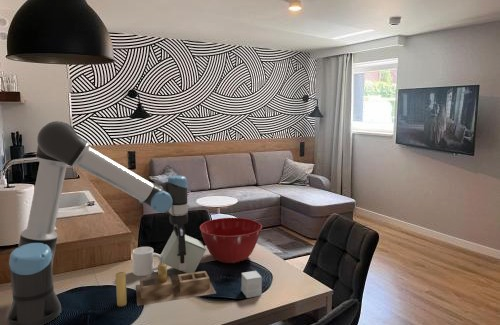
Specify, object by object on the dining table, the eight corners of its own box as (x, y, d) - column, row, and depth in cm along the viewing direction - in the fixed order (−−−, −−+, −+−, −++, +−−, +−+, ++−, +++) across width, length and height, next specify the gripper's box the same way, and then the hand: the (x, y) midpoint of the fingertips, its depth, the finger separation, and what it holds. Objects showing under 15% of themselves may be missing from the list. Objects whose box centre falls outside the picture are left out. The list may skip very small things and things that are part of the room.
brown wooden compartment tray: (137, 308, 128) (136, 278, 126) (135, 287, 143) (134, 260, 141) (216, 295, 137) (216, 267, 135) (207, 277, 152) (206, 251, 150)
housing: (162, 263, 149) (176, 237, 149) (160, 254, 158) (173, 229, 158) (192, 275, 153) (206, 249, 154) (188, 265, 162) (201, 241, 163)
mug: (164, 269, 160) (163, 246, 158) (161, 278, 151) (160, 253, 150) (135, 269, 159) (135, 246, 157) (131, 278, 151) (130, 254, 149)
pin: (117, 309, 127) (115, 276, 126) (117, 305, 130) (115, 272, 129) (126, 308, 128) (125, 275, 127) (126, 303, 131) (125, 271, 130)
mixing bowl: (192, 251, 179) (192, 220, 177) (246, 243, 191) (246, 214, 189) (211, 275, 154) (211, 239, 152) (272, 263, 166) (272, 230, 164)
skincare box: (241, 290, 141) (241, 272, 140) (256, 288, 143) (256, 270, 142) (246, 298, 135) (246, 279, 134) (262, 295, 138) (262, 276, 137)
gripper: (192, 219, 143) (194, 274, 147) (183, 205, 164) (185, 253, 168) (172, 221, 141) (174, 277, 144) (166, 207, 162) (168, 256, 165)
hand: (180, 264), depth 156 cm, fingers closed on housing, 10 cm apart
